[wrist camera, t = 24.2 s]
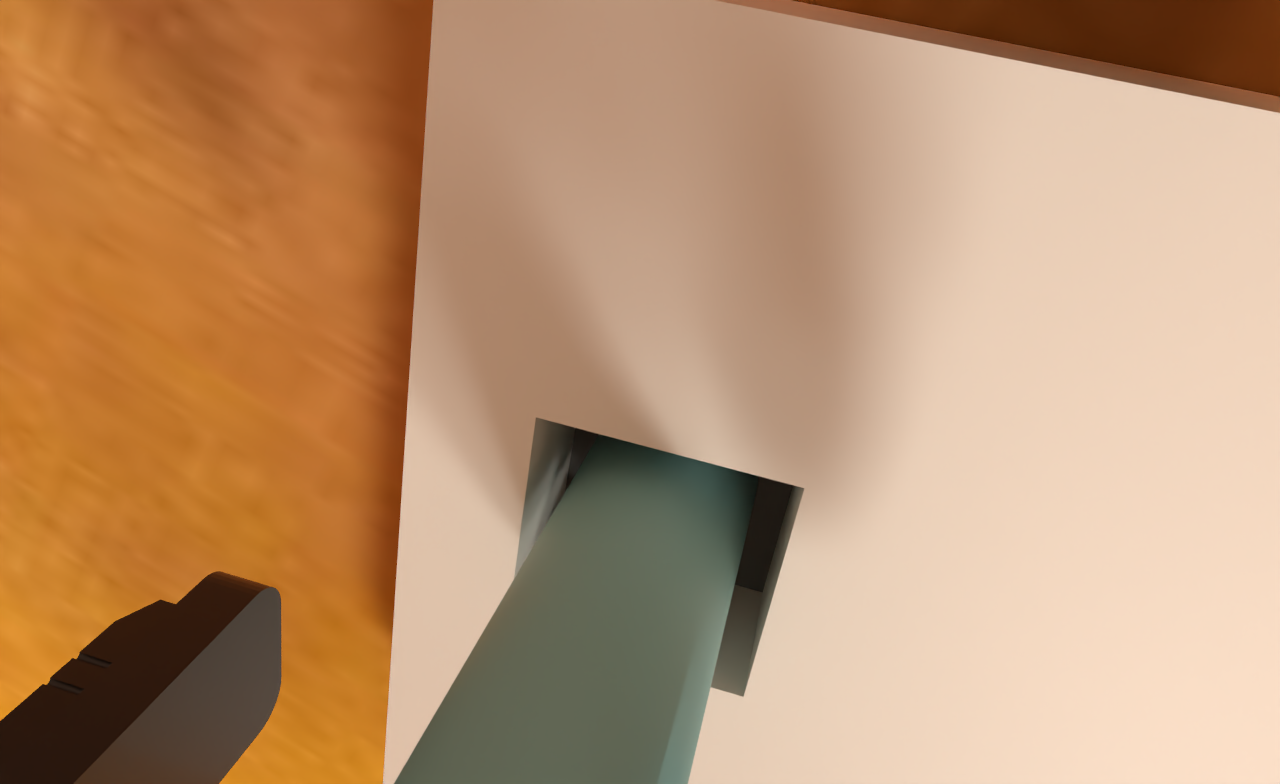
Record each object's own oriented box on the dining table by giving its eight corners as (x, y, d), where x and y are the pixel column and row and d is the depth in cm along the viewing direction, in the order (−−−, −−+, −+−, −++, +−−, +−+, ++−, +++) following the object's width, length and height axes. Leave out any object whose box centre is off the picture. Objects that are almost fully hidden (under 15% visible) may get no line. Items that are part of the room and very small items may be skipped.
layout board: (1078, 922, 19) (1110, 1075, 17) (442, 723, 21) (379, 833, 19) (1539, 147, 12) (1721, 200, 10) (520, -54, 14) (437, -56, 11)
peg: (739, 559, 17) (619, 1070, 10) (584, 518, 18) (343, 975, 10) (774, 418, 16) (666, 876, 8) (605, 377, 16) (347, 775, 9)
